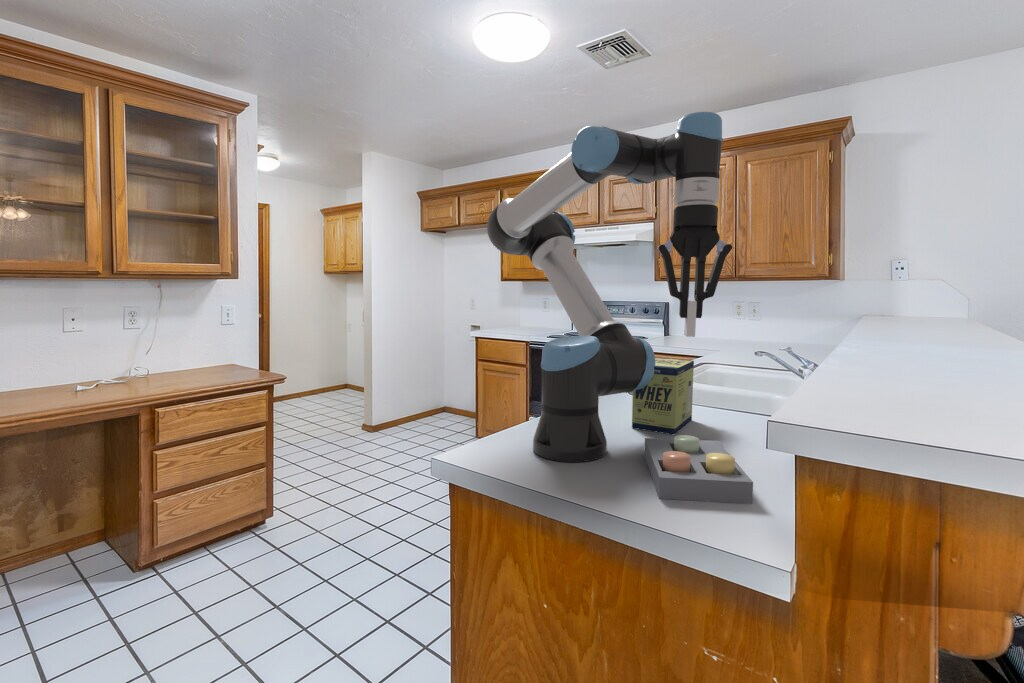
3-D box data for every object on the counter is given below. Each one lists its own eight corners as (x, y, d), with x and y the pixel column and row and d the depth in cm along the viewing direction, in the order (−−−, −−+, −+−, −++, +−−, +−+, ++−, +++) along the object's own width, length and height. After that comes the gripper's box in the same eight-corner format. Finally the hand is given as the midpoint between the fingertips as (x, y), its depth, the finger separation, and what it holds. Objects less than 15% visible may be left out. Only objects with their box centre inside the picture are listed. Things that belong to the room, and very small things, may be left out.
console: (659, 498, 79) (659, 477, 79) (644, 455, 100) (644, 438, 99) (752, 503, 77) (753, 482, 77) (717, 458, 98) (718, 440, 97)
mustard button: (709, 478, 81) (709, 461, 81) (702, 469, 85) (703, 452, 85) (737, 480, 80) (738, 462, 80) (729, 470, 85) (730, 453, 84)
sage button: (676, 457, 91) (676, 441, 91) (672, 449, 96) (672, 434, 95) (701, 458, 91) (701, 442, 90) (695, 450, 95) (696, 435, 95)
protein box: (631, 428, 119) (632, 364, 117) (652, 414, 132) (653, 356, 130) (675, 435, 113) (677, 368, 111) (692, 420, 126) (694, 359, 124)
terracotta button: (664, 476, 82) (665, 459, 82) (660, 467, 86) (661, 450, 86) (692, 478, 81) (693, 460, 81) (687, 468, 86) (687, 451, 85)
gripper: (660, 203, 87) (655, 337, 90) (740, 201, 85) (731, 339, 87) (656, 209, 94) (651, 332, 97) (729, 207, 92) (721, 334, 95)
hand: (689, 335), depth 92 cm, fingers closed
